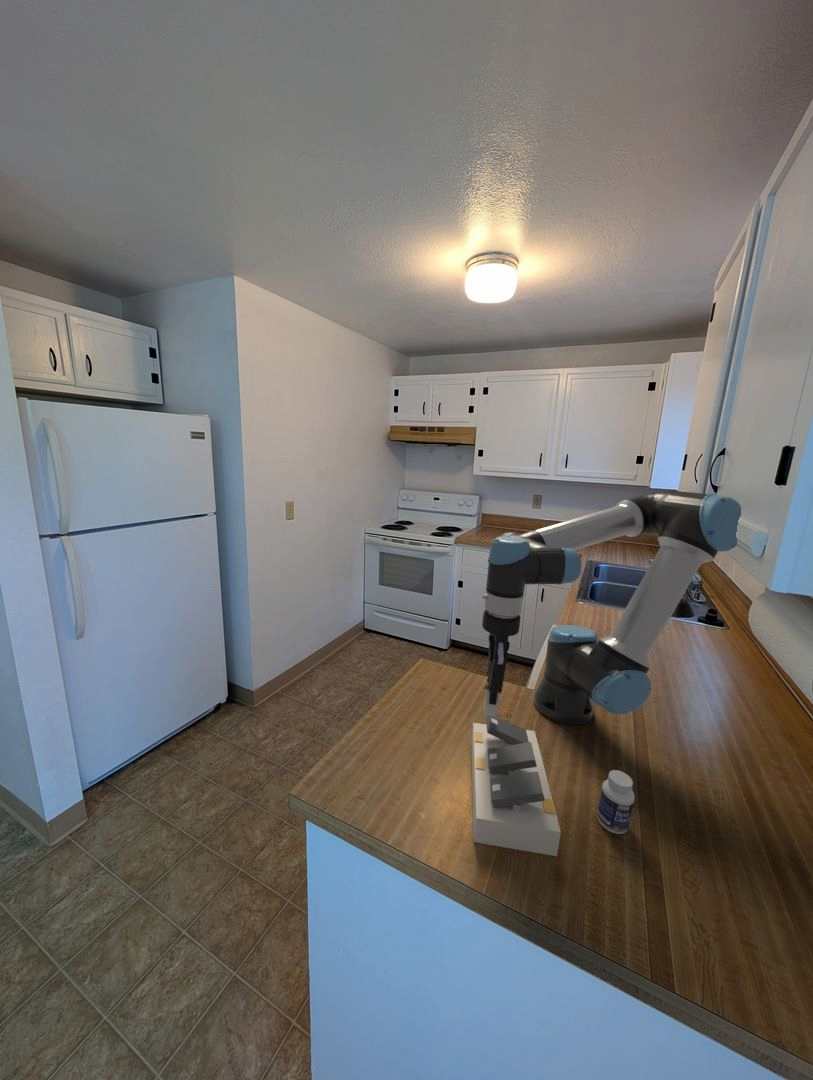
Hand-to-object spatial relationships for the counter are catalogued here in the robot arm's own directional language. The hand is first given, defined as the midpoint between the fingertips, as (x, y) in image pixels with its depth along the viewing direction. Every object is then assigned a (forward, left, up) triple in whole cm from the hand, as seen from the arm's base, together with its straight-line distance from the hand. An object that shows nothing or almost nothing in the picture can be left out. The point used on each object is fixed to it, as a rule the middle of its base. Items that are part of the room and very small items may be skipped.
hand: (490, 713), depth 89 cm
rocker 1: (-4, 0, -4) cm, 6 cm away
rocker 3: (-4, +16, -4) cm, 17 cm away
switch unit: (-4, +8, -11) cm, 14 cm away
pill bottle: (-23, +12, -12) cm, 28 cm away
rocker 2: (-4, +8, -4) cm, 10 cm away
